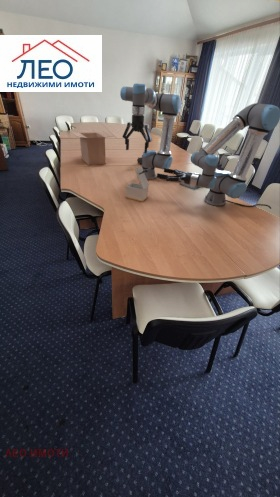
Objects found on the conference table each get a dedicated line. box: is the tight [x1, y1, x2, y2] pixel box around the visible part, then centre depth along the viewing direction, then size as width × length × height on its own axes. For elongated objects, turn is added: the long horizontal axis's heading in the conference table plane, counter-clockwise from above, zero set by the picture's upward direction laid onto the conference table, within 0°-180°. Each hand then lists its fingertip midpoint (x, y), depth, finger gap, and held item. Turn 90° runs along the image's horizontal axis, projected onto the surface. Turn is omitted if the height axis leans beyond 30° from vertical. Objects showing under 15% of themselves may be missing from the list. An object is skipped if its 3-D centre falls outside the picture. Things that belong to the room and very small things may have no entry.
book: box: [179, 181, 200, 190], centre depth 197 cm, size 23×16×5 cm
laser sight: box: [136, 154, 143, 165], centre depth 236 cm, size 10×22×10 cm, turn 78°
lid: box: [135, 165, 152, 189], centre depth 155 cm, size 14×10×8 cm
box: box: [70, 129, 114, 166], centre depth 229 cm, size 44×36×27 cm
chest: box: [125, 182, 149, 203], centre depth 165 cm, size 14×10×9 cm
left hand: (136, 151), depth 148 cm, fingers open, 13 cm apart
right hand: (160, 172), depth 149 cm, fingers open, 13 cm apart
